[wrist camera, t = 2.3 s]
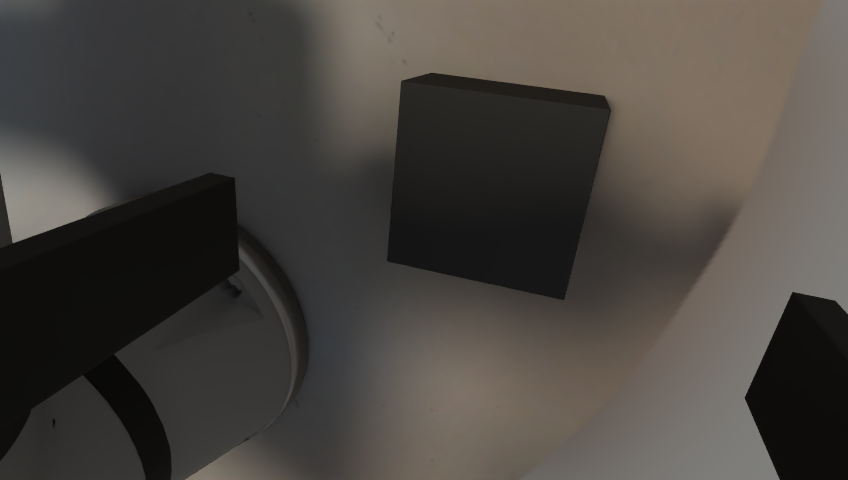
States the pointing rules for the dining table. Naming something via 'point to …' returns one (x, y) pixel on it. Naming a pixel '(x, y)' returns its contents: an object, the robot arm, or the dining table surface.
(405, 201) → the black rectangular block
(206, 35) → the dining table surface
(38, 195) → the dining table surface
